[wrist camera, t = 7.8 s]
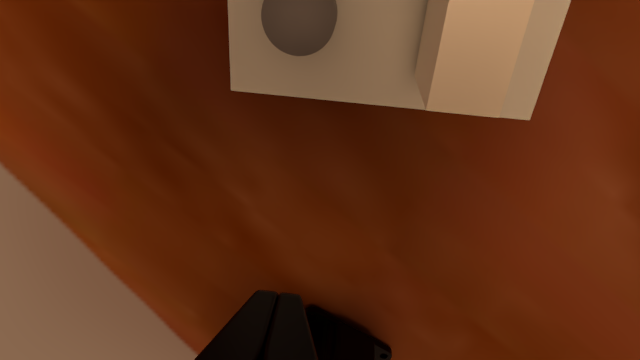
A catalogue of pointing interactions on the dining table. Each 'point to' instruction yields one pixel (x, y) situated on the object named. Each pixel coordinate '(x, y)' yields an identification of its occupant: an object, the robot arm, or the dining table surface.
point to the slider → (469, 54)
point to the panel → (363, 51)
